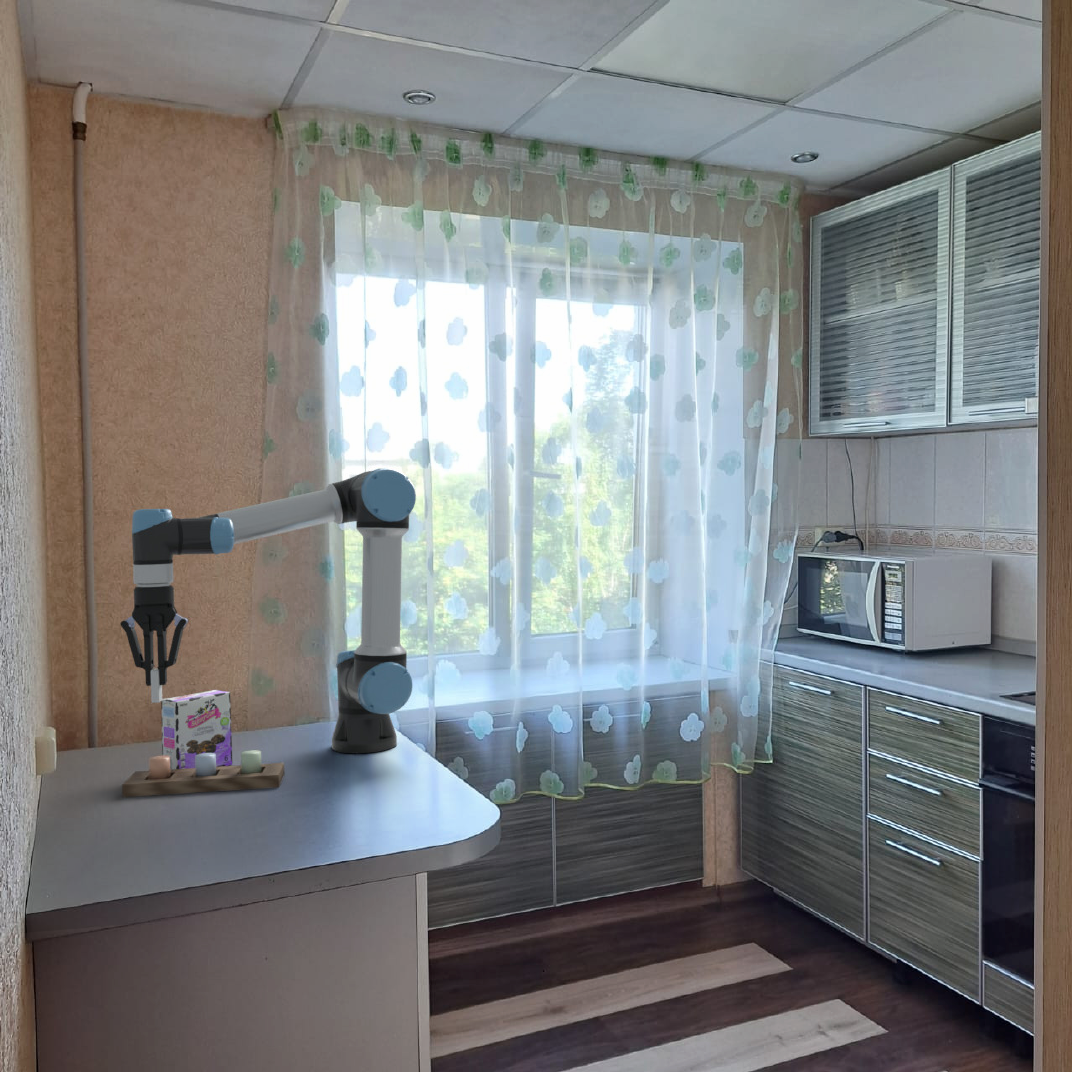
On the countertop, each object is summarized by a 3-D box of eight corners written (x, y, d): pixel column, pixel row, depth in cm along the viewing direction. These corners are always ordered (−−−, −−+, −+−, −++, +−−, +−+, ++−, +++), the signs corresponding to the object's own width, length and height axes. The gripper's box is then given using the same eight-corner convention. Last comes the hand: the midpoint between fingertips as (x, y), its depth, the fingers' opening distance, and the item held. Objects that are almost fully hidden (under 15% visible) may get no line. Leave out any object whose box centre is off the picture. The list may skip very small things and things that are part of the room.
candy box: (177, 779, 205) (175, 701, 204) (161, 775, 208) (159, 698, 208) (233, 764, 216) (231, 690, 215) (217, 761, 219) (215, 688, 219)
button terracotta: (172, 774, 200) (171, 754, 200) (168, 779, 196) (167, 759, 196) (152, 775, 199) (151, 756, 199) (147, 780, 195) (146, 760, 195)
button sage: (262, 768, 202) (262, 749, 202) (260, 773, 198) (259, 754, 198) (242, 770, 202) (242, 750, 202) (239, 775, 198) (239, 755, 198)
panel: (284, 774, 206) (284, 762, 206) (278, 787, 196) (278, 774, 196) (135, 783, 202) (135, 771, 202) (122, 797, 192) (122, 784, 192)
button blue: (217, 771, 201) (217, 752, 201) (214, 776, 197) (213, 756, 197) (197, 772, 201) (197, 753, 201) (193, 777, 197) (193, 758, 197)
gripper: (191, 583, 202) (194, 696, 202) (125, 584, 200) (128, 699, 200) (183, 585, 194) (186, 703, 194) (114, 587, 192) (117, 706, 193)
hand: (156, 701), depth 197 cm, fingers closed
